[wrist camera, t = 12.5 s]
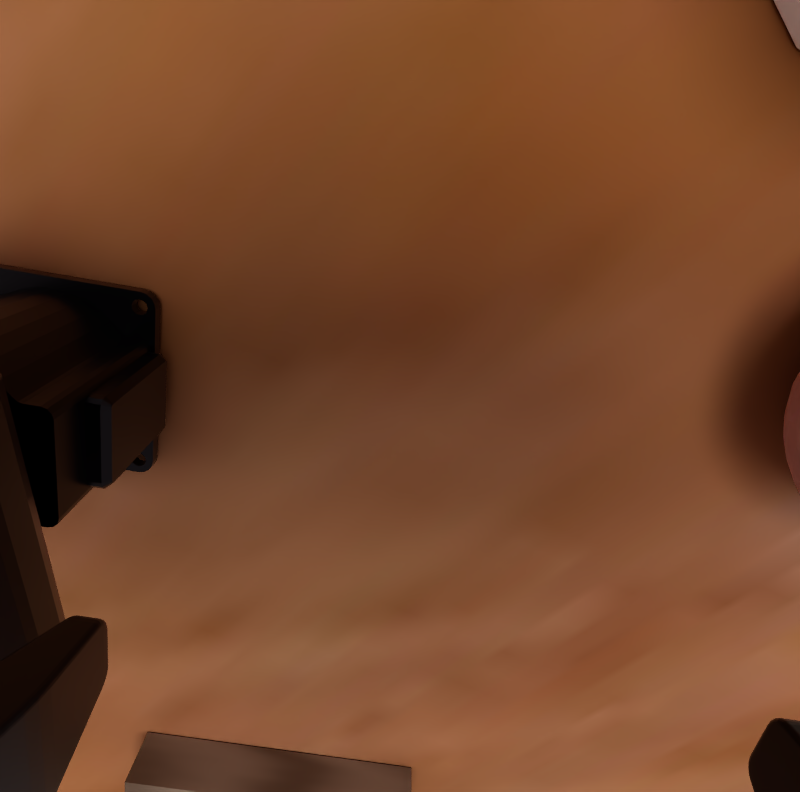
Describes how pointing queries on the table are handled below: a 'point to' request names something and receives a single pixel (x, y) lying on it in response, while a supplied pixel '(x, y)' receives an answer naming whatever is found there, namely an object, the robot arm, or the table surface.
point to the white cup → (790, 17)
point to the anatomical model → (793, 432)
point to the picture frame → (252, 769)
